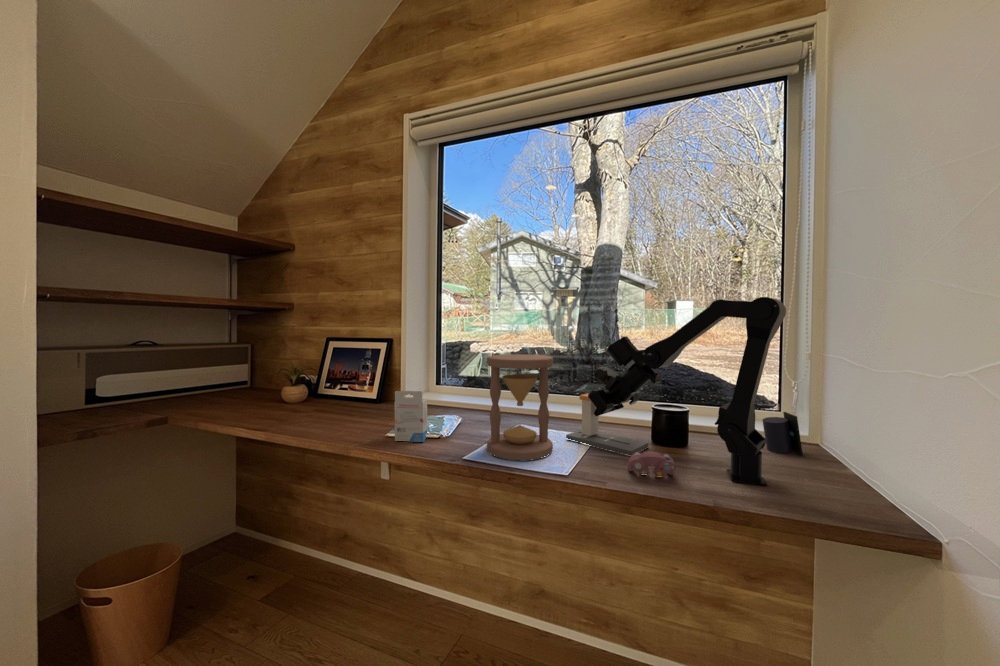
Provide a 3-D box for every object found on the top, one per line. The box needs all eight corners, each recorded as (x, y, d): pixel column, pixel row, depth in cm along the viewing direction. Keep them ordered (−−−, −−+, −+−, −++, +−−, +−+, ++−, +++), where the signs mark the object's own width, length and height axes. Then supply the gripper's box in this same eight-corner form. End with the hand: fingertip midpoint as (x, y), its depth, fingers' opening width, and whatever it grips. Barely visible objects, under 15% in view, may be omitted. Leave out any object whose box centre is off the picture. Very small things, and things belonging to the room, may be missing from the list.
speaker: (798, 449, 102) (794, 411, 102) (803, 457, 97) (799, 416, 97) (764, 447, 106) (760, 410, 106) (767, 455, 101) (763, 416, 101)
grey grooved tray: (648, 448, 104) (648, 442, 104) (631, 457, 97) (631, 450, 97) (585, 433, 118) (585, 427, 118) (566, 439, 111) (566, 434, 111)
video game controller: (627, 482, 86) (629, 459, 82) (626, 466, 90) (627, 443, 86) (675, 486, 83) (679, 462, 80) (671, 470, 87) (675, 447, 84)
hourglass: (551, 441, 111) (552, 354, 110) (553, 462, 93) (554, 360, 93) (491, 439, 112) (491, 354, 112) (482, 460, 95) (482, 359, 94)
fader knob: (600, 433, 112) (600, 394, 112) (591, 436, 108) (591, 397, 108) (588, 430, 115) (589, 393, 114) (579, 433, 111) (579, 395, 111)
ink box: (428, 438, 113) (428, 388, 113) (423, 443, 108) (423, 391, 108) (400, 437, 114) (400, 387, 114) (394, 442, 109) (393, 390, 109)
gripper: (629, 355, 112) (595, 388, 121) (594, 360, 99) (559, 396, 107) (655, 385, 107) (618, 418, 115) (622, 394, 94) (583, 430, 102)
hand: (595, 414), depth 110 cm, fingers closed
